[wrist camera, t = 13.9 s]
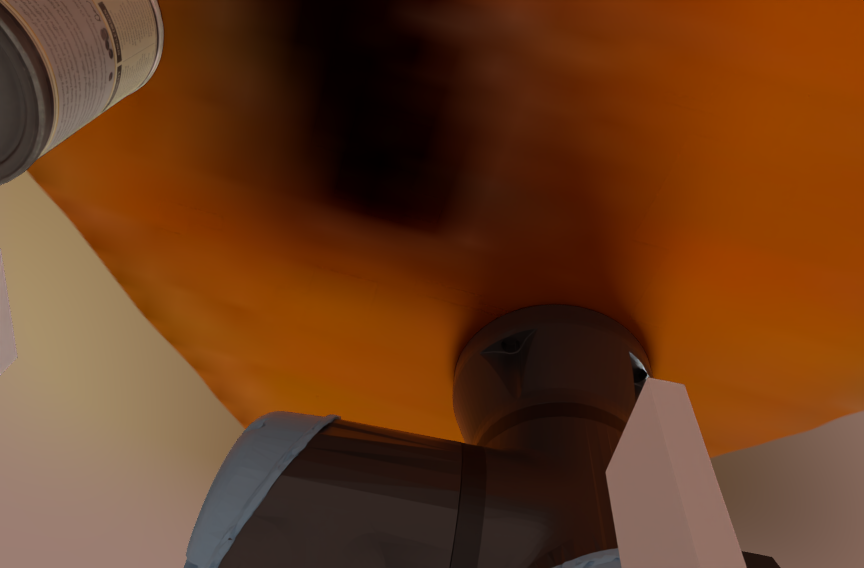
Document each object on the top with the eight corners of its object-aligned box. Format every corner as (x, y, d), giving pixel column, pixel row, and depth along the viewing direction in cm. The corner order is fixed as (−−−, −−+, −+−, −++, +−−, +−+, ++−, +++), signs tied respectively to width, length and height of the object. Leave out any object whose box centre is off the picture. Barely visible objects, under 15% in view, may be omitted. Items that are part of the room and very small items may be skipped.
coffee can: (92, 129, 48) (-44, 227, 36) (-36, -7, 44) (-237, 52, 32) (201, 40, 44) (89, 116, 32) (72, -117, 40) (-111, -98, 28)
